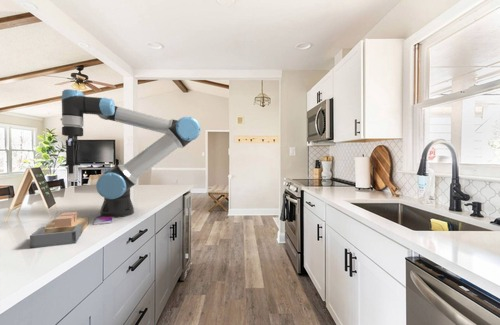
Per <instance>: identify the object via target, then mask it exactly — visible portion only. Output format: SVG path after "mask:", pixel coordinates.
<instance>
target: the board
mask: <svg viewBox="0 0 500 325" xmlns="http://www.w3.org/2000/svg"><path fill="white" fill-rule="evenodd" d="M80 223H82V234H83V233H84V231H85V230H86V228H87V226H88V224H89V217H88V216H87V217H86V216H85V217H77V220H76V221H75V222H74V223H73V225H72V226H65V227H55V219H52V221H50V222H49V223H48V224H46V225H45V226H44V227H45V234H47V233H58V232H68V231H73V230H74V229H75V227H76V226H77V225H78V224H80Z"/></svg>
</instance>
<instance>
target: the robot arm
mask: <svg viewBox="0 0 500 325" xmlns="http://www.w3.org/2000/svg"><path fill="white" fill-rule="evenodd" d="M60 101H61V117H60V119H59V120H60V121H61V125H62V127H61V135H62V136H64V137H67V139H66V140H65V161H66V162H65V164H64V166H65V167H67V182H76V181H79V166H81V163H80V140H79V139H78V137H83V136H84V128H83V127H84V114H85V115H94V116H95V115H96V116H98V117H99V118H100V119H102V120H104V121H105V120H106V121H112V122H115V123H121V124H125V125H129V126H133V127H137V128H141V129H143V130H147V131H148V130H149V131H153V132H156V133H160V134H164V135H162V136H161V137H160V138H159V139H157V140H156V141H154V142H153V143H152V144H149V146H147V147H146V148H145V149H144V150H142V151H141V152H138V154H136V156H135V155H134V157H132V158H131V159H130V160H129V161H126V162H125V163H124V164H117V165H116V166H114V167H112V168H109V167H108V168H105V169H104V171H103V172H104V173H103V174H101V175H100V176H99V177H98V179H97V181H96V184H95V186H96V187H95V188H96V191H97V193H98V194H99V195H100V197H103V201H102V205H101V208H100V211H99V216H104V217H113V218H120V217H126V216H129V215H133V214H134V213H135V207H134V205H133V202H132V199H131V188H133V186H135V185H136V184H137V180H138V179H139V178H140V177H141V176H143V175H144V174H145V173H147V172H148V171H149V170H151V169H152V168H153V167H154V166H157V164H159V163H160V162H161V161H162V160H164V159H165V158H166V157H167V156H169V155H170V154H172V153H173V152H174V151H176V150H177V149H178V148H180V149H183V148H185V147H186V146H187V145H188V144H190V143H191V142H193V141H194V140H196V139H198V138H199V136H200V133H201V125H200V123H199V121H198V120H197V119H195V118H194V117H192V116H183V117H180V118H179V119H178V120H177V119H174V118H171V119H165V118H162V117H157V116H154V115H152V114H151V115H150V114H146V113H144V112H138V111H135V110H132V109H129V108H123V107H121V106H117V105H116V104H115V101H114V100H113V99H112V98H107V97H97V96H96V97H93V96H85V95H84V93H83V91H80V90H76V89H68V88H67V89H63V90H62V93H61V100H60Z"/></svg>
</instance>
